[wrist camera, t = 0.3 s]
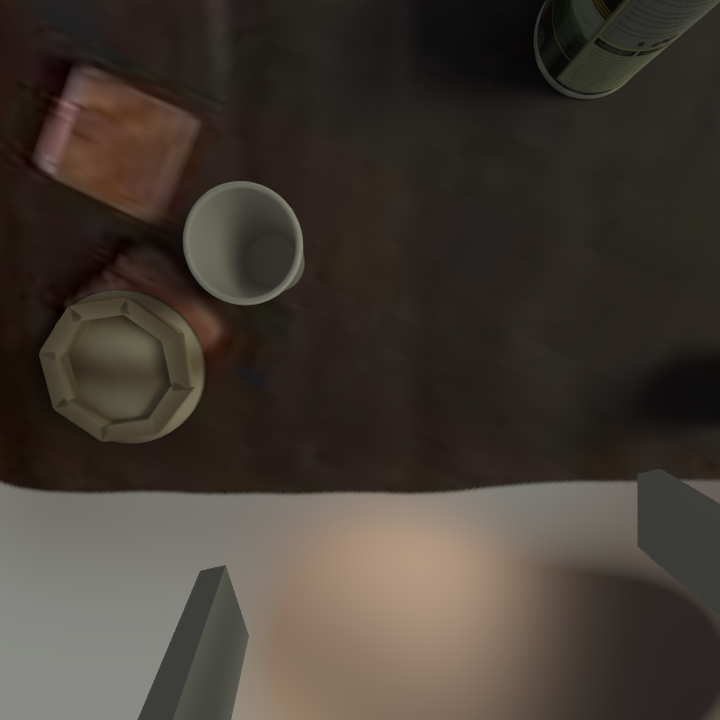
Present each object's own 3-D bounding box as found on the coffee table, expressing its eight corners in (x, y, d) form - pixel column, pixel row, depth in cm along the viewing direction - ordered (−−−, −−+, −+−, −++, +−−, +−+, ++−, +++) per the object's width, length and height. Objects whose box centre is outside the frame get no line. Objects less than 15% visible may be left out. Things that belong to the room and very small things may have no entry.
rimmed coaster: (37, 302, 36) (14, 302, 34) (189, 280, 36) (176, 278, 33) (75, 449, 38) (55, 458, 36) (219, 429, 38) (209, 437, 35)
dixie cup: (214, 269, 36) (157, 254, 26) (265, 197, 35) (227, 153, 25) (284, 323, 36) (255, 328, 26) (336, 254, 35) (326, 232, 26)
